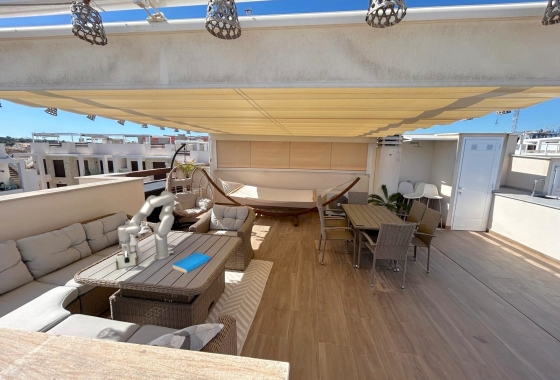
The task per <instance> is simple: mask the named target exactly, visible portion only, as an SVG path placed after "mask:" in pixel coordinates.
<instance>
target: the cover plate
mask: <svg viewBox="0 0 560 380" xmlns="http://www.w3.org/2000/svg"><path fill="white" fill-rule="evenodd" d="M135 258H136V253H131V254H130V255H129V260H130V262H129V263H125V257H124V256H123V255H120V256H117V255H116V259H117V261H118V267H119V269H123V268H128V267H132V266H133V267H134V266H136V263H135Z"/></svg>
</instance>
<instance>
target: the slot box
mask: <svg viewBox="0 0 560 380" xmlns="http://www.w3.org/2000/svg"><path fill="white" fill-rule="evenodd" d="M131 253H136V258H135V263H136V265H135V267H138V266H139V265H138V263H139V262H138V261H139V260H138V259H139V258H138V257H139V255H137V251H133V252H131ZM131 253H130V254H131ZM120 255H123V253H119V254H117V255H116V257H117V256H120ZM115 266H116V271H119V270H120V268H119V267H118V261H117V258H116V259H115Z"/></svg>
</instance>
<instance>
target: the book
mask: <svg viewBox="0 0 560 380" xmlns="http://www.w3.org/2000/svg"><path fill="white" fill-rule="evenodd" d="M208 260H209V261H210V260H211V257H210V256H209V255H206V254H203V253H200V252H198V251H197V252H196V251H195V252H194V253H191V254H190V255H188V256H186V257H184V258H181V259H180V260H177V261H176V262H174V263H172V264H171V265H172V268H173V269H174V270H177V271H178V272H182V273H184V274H188V273H190V272H192V271H193V270H195V269H197V268H198V267H200V266H202V265H204V264H205V263H207V262H208ZM203 263H204V264H203Z"/></svg>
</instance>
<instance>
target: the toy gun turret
mask: <svg viewBox="0 0 560 380" xmlns="http://www.w3.org/2000/svg"><path fill="white" fill-rule="evenodd" d="M136 235H137V234H133V235H132V236H130V240H131V242H130V250H131V252H133V251H137V256H141V255H143V253H144V252H143V251H142V250H141V249H140V248H139V242H140V239H139V238H138V237H136Z"/></svg>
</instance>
